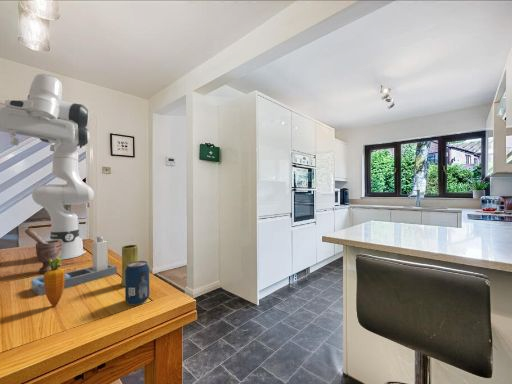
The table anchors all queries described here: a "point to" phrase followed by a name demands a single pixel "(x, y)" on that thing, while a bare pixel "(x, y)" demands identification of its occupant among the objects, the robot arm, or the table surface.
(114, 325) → the table surface
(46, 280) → the carrot
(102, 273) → the ladder grid frame
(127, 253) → the vase
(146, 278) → the soda can
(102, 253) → the capped white pillar
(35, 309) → the table surface
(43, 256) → the mortar and pestle
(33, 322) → the table surface
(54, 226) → the robot arm
